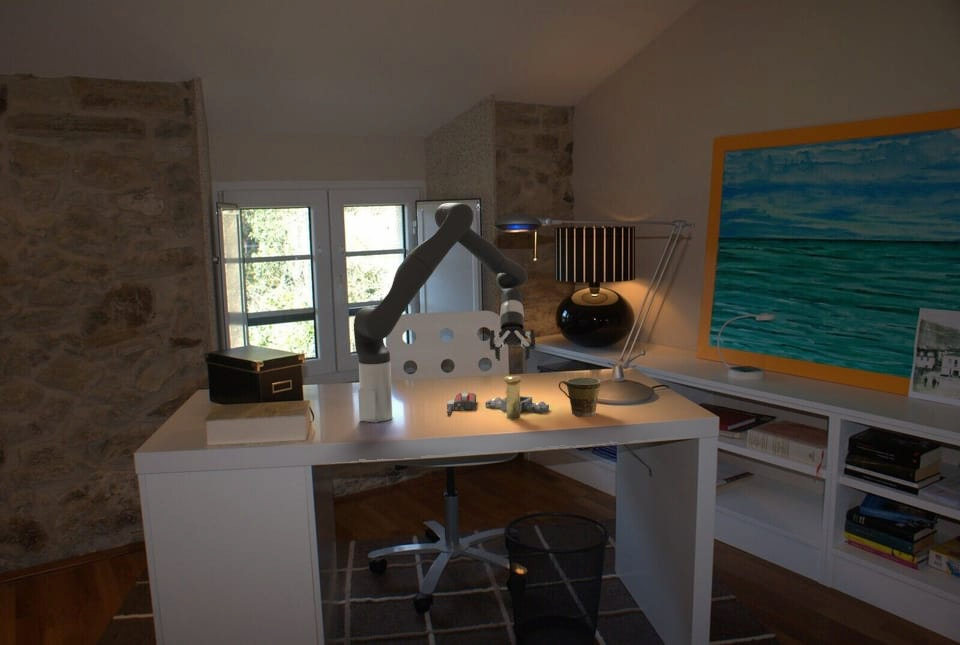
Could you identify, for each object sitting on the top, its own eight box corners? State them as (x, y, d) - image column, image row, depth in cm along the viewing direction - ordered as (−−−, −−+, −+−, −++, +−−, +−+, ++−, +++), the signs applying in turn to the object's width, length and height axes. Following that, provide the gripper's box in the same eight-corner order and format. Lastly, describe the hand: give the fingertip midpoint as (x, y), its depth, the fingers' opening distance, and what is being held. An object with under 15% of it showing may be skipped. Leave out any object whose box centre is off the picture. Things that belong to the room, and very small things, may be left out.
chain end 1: (505, 409, 225) (505, 401, 225) (485, 407, 229) (485, 399, 228) (512, 405, 229) (511, 398, 229) (492, 403, 233) (492, 396, 232)
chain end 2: (541, 414, 218) (541, 404, 218) (499, 410, 224) (499, 400, 224) (551, 408, 225) (551, 399, 225) (510, 404, 231) (510, 395, 231)
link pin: (517, 420, 212) (516, 379, 211) (502, 418, 215) (501, 378, 213) (524, 416, 217) (523, 376, 215) (509, 414, 219) (508, 375, 217)
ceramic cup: (605, 411, 220) (605, 379, 218) (593, 419, 211) (592, 385, 210) (565, 407, 226) (565, 375, 225) (552, 414, 218) (551, 381, 217)
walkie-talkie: (450, 401, 239) (444, 417, 219) (449, 388, 238) (444, 403, 218) (477, 401, 238) (474, 417, 219) (476, 388, 238) (473, 402, 218)
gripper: (489, 310, 232) (489, 352, 222) (534, 309, 231) (535, 351, 222) (490, 325, 238) (489, 366, 228) (534, 324, 237) (535, 365, 228)
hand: (512, 359), depth 225 cm, fingers open, 8 cm apart
